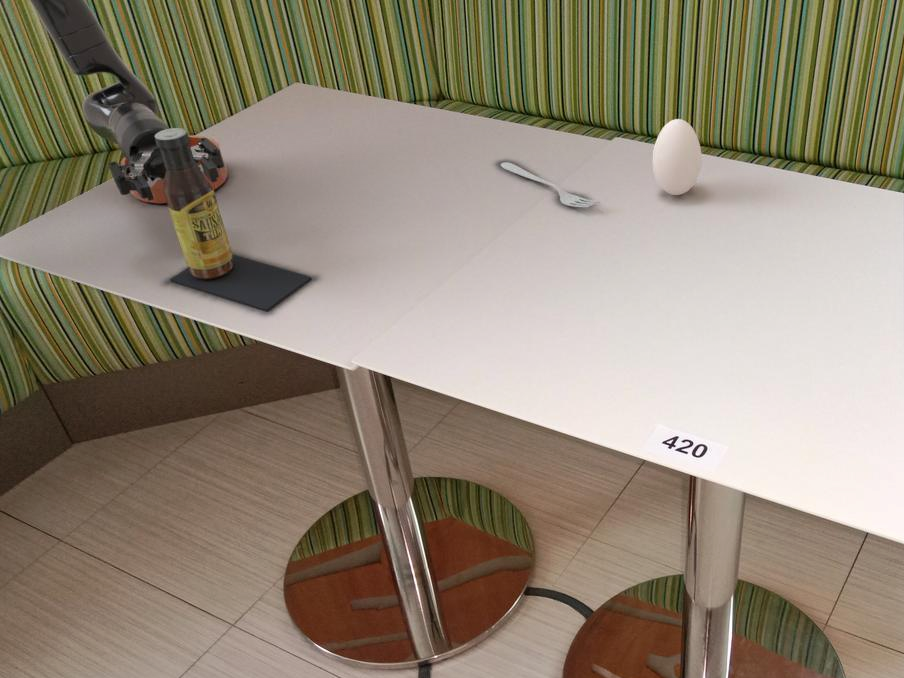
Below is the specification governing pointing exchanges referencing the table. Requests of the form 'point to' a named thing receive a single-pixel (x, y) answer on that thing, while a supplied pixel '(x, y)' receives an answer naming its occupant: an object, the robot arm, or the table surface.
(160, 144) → the sauce bottle
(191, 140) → the bowl
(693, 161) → the egg
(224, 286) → the mat
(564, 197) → the fork
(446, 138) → the table surface
